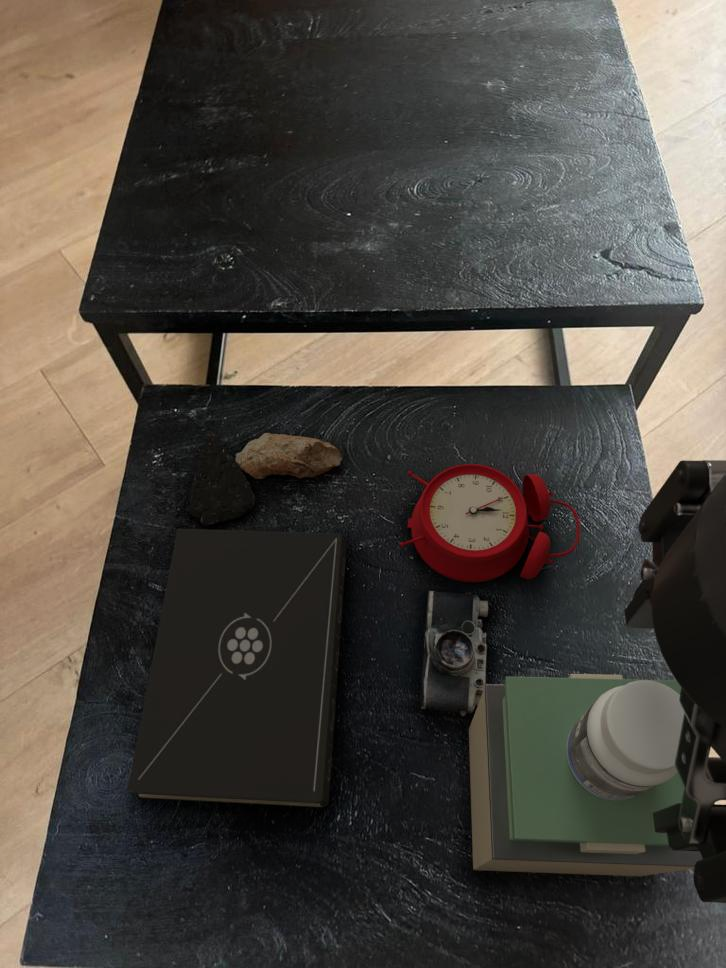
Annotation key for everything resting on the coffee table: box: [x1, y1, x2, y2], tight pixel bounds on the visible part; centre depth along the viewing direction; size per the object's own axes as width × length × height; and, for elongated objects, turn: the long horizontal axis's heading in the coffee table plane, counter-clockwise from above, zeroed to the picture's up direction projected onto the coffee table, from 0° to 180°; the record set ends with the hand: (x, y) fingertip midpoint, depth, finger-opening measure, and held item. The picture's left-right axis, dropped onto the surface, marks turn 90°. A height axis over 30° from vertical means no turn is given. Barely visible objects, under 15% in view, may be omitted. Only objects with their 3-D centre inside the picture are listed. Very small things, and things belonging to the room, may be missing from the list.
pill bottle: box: [567, 679, 684, 800], centre depth 38 cm, size 5×5×8 cm
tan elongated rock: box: [234, 432, 343, 480], centre depth 72 cm, size 10×4×5 cm
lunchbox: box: [502, 673, 684, 854], centre depth 44 cm, size 11×9×4 cm
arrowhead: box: [187, 430, 256, 527], centre depth 72 cm, size 6×1×10 cm
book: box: [126, 528, 348, 809], centre depth 62 cm, size 22×15×3 cm
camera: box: [419, 590, 489, 717], centre depth 61 cm, size 5×10×4 cm, turn 173°
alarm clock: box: [398, 463, 581, 583], centre depth 67 cm, size 10×6×15 cm
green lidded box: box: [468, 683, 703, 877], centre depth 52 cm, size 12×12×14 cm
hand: (661, 715), depth 33 cm, fingers open, 8 cm apart
